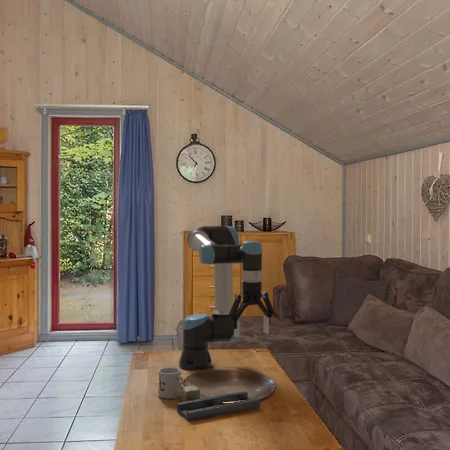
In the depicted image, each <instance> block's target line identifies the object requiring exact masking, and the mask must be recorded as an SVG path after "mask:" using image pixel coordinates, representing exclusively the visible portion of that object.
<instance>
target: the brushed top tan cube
mask: <svg viewBox="0 0 450 450" xmlns="http://www.w3.org/2000/svg"><path fill="white" fill-rule="evenodd" d="M197 399H201V389H200V388H199V387H197V386H195V385H188V386H182V387H181V395H180V402H185V401H191V400H197Z"/></svg>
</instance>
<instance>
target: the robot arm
mask: <svg viewBox="0 0 450 450" xmlns="http://www.w3.org/2000/svg"><path fill="white" fill-rule="evenodd" d="M187 245H188V246H189V248H190V249H191V250H192V251H194V252H197V253H198V254H199V261H200V263H201V264H204V265H214V266H213V267H214V269H213V270H214V310H212V312H211V316H209V315H208V314H207V313H196V314H191V315H187V316H186V317H185V318H184V319H183V321H182V351H181V354H180V357H179V361H178V366H179V368H181V369H184V370H189V371H202V370H207V369H210V368H211V367H212V365H213V362H212V356H211V355H210V354H211V353H210V351H209V343H222V342H223V343H224V342H225V343H226V342H227V343H229V342H235V341H237V340H238V339H239V338H240V334H241V329H242V321H241V316H242V314H243V313H244V311H245V310H246V308H247V307H249V306H257V307H258V308H259V309H260V310H261V312H262V313H263V314H264V316H263V334H266V335H268V334H270V325H271V318H272V317H273V316H275V315H276V312H275V309H274V307H273V304H272V302H271V300H270V297H269V293H268V292H267V291H262V288H263V286H262V285H263V284H262V276H263V274H262V272H263V268H262V266H263V247H262V246H263V244H262V242H261V241H258V240H257V241H256V240H246V241H243V242H242V243H240V236H239V232H238V230H237V229H236V227H234V226H231V225H230V226H229V225H209V226H208V225H203V226H199V227H196V228H194V229H192V230H191V232H190V233H189V234H188V236H187ZM233 264H241V265H242V268H241V269H242V270H241V271H242V272H241V274H242V276H241V277H242V279H241V280H242V283H241V284H242V285H241V286H242V287H241V289H242V294H239V293H236V294H234V279H233V278H234V275H233V273H234V272H233V270H234V269H233ZM234 295H235V297H234ZM261 298H262V300H263V301H262V300H261ZM263 302H264V303H263Z"/></svg>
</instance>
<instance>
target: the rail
mask: <svg viewBox="0 0 450 450" xmlns="http://www.w3.org/2000/svg"><path fill="white" fill-rule="evenodd" d="M248 394H249V393H248V391H245V390H244V391H238V392H232V393H227V394H222V395H221V394H220V395H216V396H215V395H214V396H210V397H204V398H203V397H202V398H200V399H197V400H191V401H185V402H181V401H180V402H176V412H177V413H178V414H179V415H181V416H182V417H183V418H184V419H185V420H186V421H188V422H195V421H199V420H200V421H201V420H206V419H209V418H215V417H221V416H225V415H230V414H236V413H237V414H238V413H240V412H245V411H253V410H256V409H260V408H261V399H259V398H258V397H256V398H250V397H249V395H248ZM238 400H245V401H240V402H234V403H229V404H224V403H223V402H229V401H238Z"/></svg>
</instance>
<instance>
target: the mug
mask: <svg viewBox="0 0 450 450" xmlns="http://www.w3.org/2000/svg"><path fill="white" fill-rule="evenodd" d="M183 385H184V378H183V377H182V370H181V369H180V367H179V368H178V367H174V366H173V367H171V366H169V367H163V368H159V369H158V390H157V395H158V397H159V398H161V399H164V400H166V399H167V400H174V399H177V398H180V397H181V387H183Z"/></svg>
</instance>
